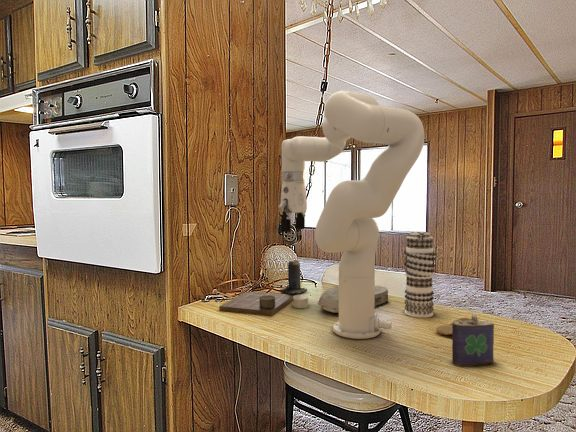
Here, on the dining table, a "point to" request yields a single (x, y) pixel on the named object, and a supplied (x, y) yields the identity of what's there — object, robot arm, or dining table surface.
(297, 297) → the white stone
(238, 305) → the board
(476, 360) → the flask
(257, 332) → the dining table surface
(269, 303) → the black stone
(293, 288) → the dark post with base
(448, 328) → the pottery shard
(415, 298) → the decorative candle
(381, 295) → the fossil stone
